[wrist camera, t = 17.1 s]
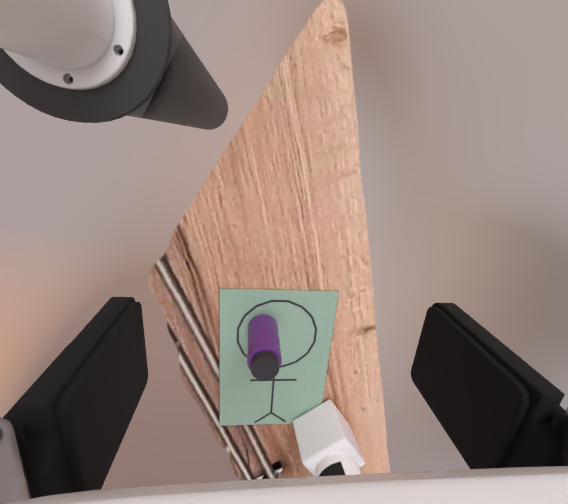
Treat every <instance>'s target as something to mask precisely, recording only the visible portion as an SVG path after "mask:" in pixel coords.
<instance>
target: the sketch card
mask: <svg viewBox="0 0 568 504" xmlns="http://www.w3.org/2000/svg"><path fill="white" fill-rule="evenodd" d="M338 293H339V292H338V291H314V290H269V289H223V288H220V426H223V425H258V424H293V420H295V419H297V418H298V417H300V416H302V415H303V414H305V413H307V412H308V411H310V410H312V409H313V408H315V407H317V406H319V405H320V404H322V399H323V392H324V386H325V379H326V373H327V366H328V359H329V353H330V346H331V340H332V333H333V326H334V320H335V313H336V307H337V300H338ZM261 314H265V315H269V316H271V317H273V318H274V319H275V320H276V322H277V325H278V333H279V341H280V349H281V356H282V364H281V366H280V368H279V372H278V374H277V375H276V376H275V377H274V378H273V379H270V380H266V381H262V380H258V379H256V378H255V377H253V375H252V374H251V370H250V369H249V367H248V365H247V348H248V325H249V322H250V321H251V319H252V318H254V317H255V316H257V315H261Z"/></svg>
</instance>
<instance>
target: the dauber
mask: <svg viewBox="0 0 568 504" xmlns="http://www.w3.org/2000/svg"><path fill="white" fill-rule="evenodd" d="M281 364H282V356H281V349H280V341H279V333H278V325H277V322H276V320H275V319H274V318H273V317H271V316H269V315H265V314H261V315H257V316H255V317H254V318H252V319H251V321H250V322H249V325H248V348H247V365H248V367H249V369H250V370H251V374H252V375H253V377H255V378H256V379H258V380H262V381H266V380H270V379H273V378H274V377H275V376H276V375H277V374H278V372H279V368H280V366H281Z"/></svg>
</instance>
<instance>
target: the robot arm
mask: <svg viewBox="0 0 568 504" xmlns="http://www.w3.org/2000/svg"><path fill="white" fill-rule="evenodd" d="M136 31H137V24H136V12H135V8H134V3H133V0H0V48H2V49H4V50H5V52H6V53H7V54H8V55H9V56H10V57H11V58H12V59H13V60H14V61H15V62H16V63H17V64H18V65H19V66H20V67H22V68H23V69H25V70H26V71H27V72H29V73H30V74H31V75H33V76H35V77H37V78H39V79H41V80H42V81H44V82H46V83H49V84H53V85H56V86H59V87H63V88H67V89H73V90H87V89H93V88H98V87H100V86H102V85H105V84H107V83H109V82H110V81H112V80H113V79H114V78H116V77H117V76H118V75H119V74H120V73H121V72H122V71H123V69H124V68H125V67H126V65H127V63H128V61H129V60H130V58H131V56H132V53H133V49H134V46H135V42H136ZM121 50H123V54H122V55H120V51H121ZM71 78H73V82H71ZM411 377H412V380H413V382H414V384H415V385H416V387H417V388H418V390H419V391H420V393H421V394H422V396H423V398H424V399H425V401H426V402H427V404H428V405H429V407H430V408H431V410H432V411H433V413H434V414H435V416H436V417H437V419H438V420H439V422H440V423H441V425H442V426H443V428H444V430H445V431H446V432H447V434H448V436H449V437H450V438H451V440H452V442H453V443H454V445H455V446H456V448H457V449H458V450H459V452H460V454H461V455H462V457H463V458H464V460H465V461H466V463H467V465H468V466H469V468H470V469H468V470H467V469H466V470H445V471H421V472H399V473H378V474H357V475H337V476H317V477H297V478H279V479H260V480H242V481H224V482H206V483H188V484H171V485H158V486H144V487H132V488H117V489H103V490H101V488H102V486H103V483H104V481H105V479H106V476H107V474H108V472H109V469H110V467H111V465H112V462H113V460H114V458H115V455H116V453H117V451H118V449H119V446H120V444H121V442H122V439H123V437H124V435H125V433H126V430H127V428H128V426H129V423H130V421H131V419H132V416H133V414H134V412H135V409H136V407H137V405H138V403H139V400H140V398H141V396H142V393H143V391H144V389H145V386H146V384H147V379H148V369H147V359H146V348H145V338H144V328H143V318H142V308H141V304H140V302H135V300H134V298H132V297H112V298H110V300H109V301H108V302H107V303H106V304H105V305H104V306H103V307H102V309H101V310H100V311H99V312H98V313H97V314H96V315H95V316H94V318H93V319H92V320H91V321H90V322H89V323H88V324H87V325H86V326H85V328H84V329H83V330H82V331H81V332H80V333H79V335H77V337H76V338H75V339H74V340H73V341H72V342H71V343H70V344H69V345H68V346H67V347H66V348H65V349H64V350H63V351H62V352H61V354H60V355H59V356H58V357H57V358H56V359H55V360H54V361H53V362H52V364H51V365H50V366H49V367H48V368H47V369H46V370H45V371H44V372H43V374H42V375H41V376H40V377H39V378H38V379H37V380H36V381H35V382H34V384H33V385H32V386H31V387H30V388H29V389H28V390H27V391H26V393H25V394H24V395H23V396H22V397H21V398H20V399H19V400H18V402H17V403H16V404H15V405H14V406H13V407H12V408H11V409H10V410H9V412H8V413H7V414H6V415H5V416H4V417H3V418H0V504H568V408H567V410H566V411H565V410H564V409H563V408H562V407H561V406H559V405H560V403H561V401H562V399H563V397H564V393H562V392H561V391H560V390H559V389H558V388H556V387H555V386H554V385H553V384H551V383H550V382H549V381H548V380H547V379H545V378H544V377H543V376H542V375H540V374H539V373H538V372H537V371H536V370H534V369H533V368H532V367H531V366H529V365H528V364H527V363H526V362H525V361H523V360H522V359H521V358H520V357H519V356H517V355H516V354H515V353H514V352H513V351H511V350H510V349H509V348H508V347H506V346H505V345H504V344H503V343H501V342H500V341H499V340H498V339H497V338H495V337H494V336H493V335H492V334H490V333H489V332H488V331H487V330H486V329H485V328H483V327H482V326H481V325H480V324H478V323H477V322H476V321H475V320H473V319H472V318H471V317H470V316H469V315H468V314H466V313H465V312H464V311H463V310H462V309H460V308H459V307H458V306H457V305H455V304H454V303H435V304H433V306H432V307H430V308H429V309H428V310H427V313H426V317H425V321H424V324H423V328H422V332H421V336H420V339H419V343H418V347H417V350H416V354H415V358H414V362H413V365H412V369H411Z"/></svg>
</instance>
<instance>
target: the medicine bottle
mask: <svg viewBox="0 0 568 504" xmlns="http://www.w3.org/2000/svg"><path fill="white" fill-rule="evenodd" d="M293 426H294V430H295V435H296V439H297V443H298V448H299V452H300V456H301V461H302V464H303V465H304V466H305V467H306V468H307V469H308V471H309V472H310V473H311V474H312V475H313V476H314V477H317V476H337V475H357V474H361V472H360V469H359V468H360V467H362V466H363V465H364V464H365V462H364V459H363V457H362V454H361V452H360V450H359V447H358V445H357V442H356V440H355V438H354V435H353V433H352V431H351V428H350V426H349V423H348V422H347V421H346V419H345V418H344V417H343V415H342V414H341V413H340V411H339V410H338V409H337V407H336V406H335V405H334V403H333V402H332V401H331V400H327V401H325V402H324V403H322V404H320V405H319V406H317V407H315V408H313V409H312V410H310V411H308V412H307V413H305V414H303V415H302V416H300V417H298V418H297V419H295V420H293Z"/></svg>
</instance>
